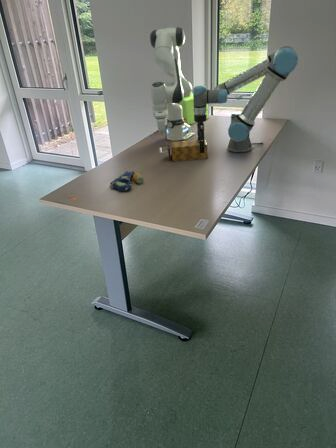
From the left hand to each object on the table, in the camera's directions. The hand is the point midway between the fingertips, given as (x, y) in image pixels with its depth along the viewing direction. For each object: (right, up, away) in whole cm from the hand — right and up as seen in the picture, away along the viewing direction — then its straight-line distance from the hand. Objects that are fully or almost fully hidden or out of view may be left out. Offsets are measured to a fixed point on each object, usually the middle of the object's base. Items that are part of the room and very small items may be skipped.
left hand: (162, 135), depth 204 cm
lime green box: (+22, +36, +84) cm, 94 cm away
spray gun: (-18, -33, -21) cm, 43 cm away
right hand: (+24, -8, +6) cm, 26 cm away
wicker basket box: (+17, -12, +8) cm, 22 cm away
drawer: (+11, -11, +7) cm, 18 cm away
